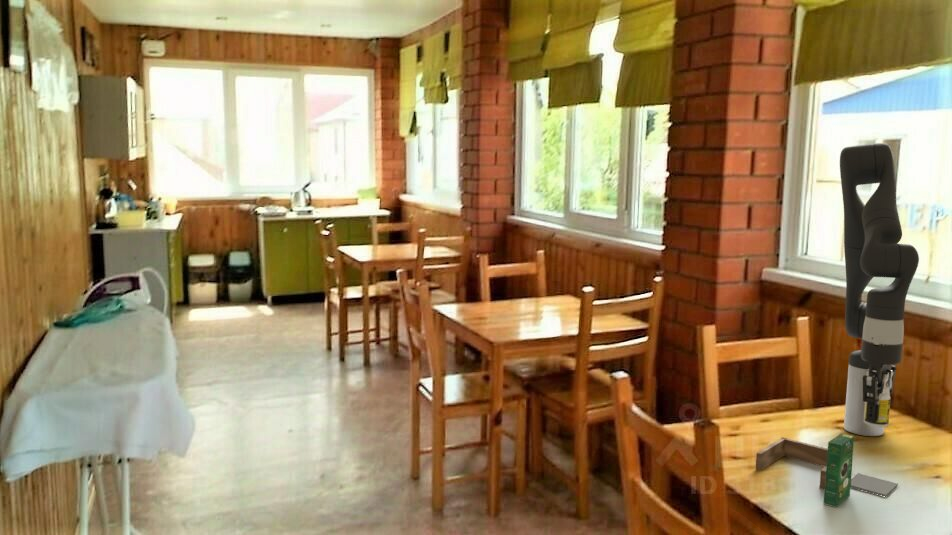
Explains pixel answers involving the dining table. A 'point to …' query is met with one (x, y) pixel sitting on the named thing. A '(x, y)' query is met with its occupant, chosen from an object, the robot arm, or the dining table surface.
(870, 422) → the supplement bottle
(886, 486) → the grey mat
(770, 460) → the open box
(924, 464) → the dining table surface
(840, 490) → the coffee box
